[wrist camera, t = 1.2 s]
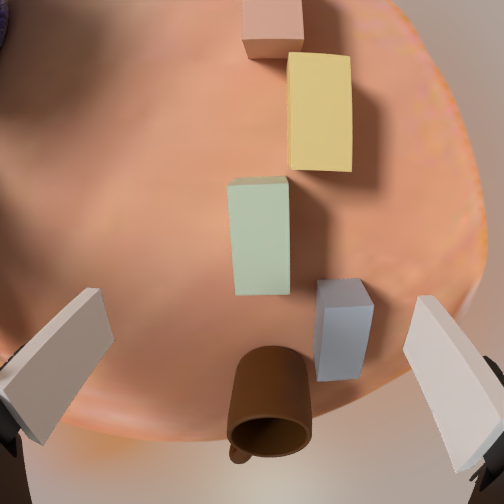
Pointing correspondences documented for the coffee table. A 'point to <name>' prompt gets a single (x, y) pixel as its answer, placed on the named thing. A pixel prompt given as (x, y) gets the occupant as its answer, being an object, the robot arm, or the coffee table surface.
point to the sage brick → (260, 234)
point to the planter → (3, 19)
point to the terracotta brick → (272, 28)
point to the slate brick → (341, 328)
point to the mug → (269, 405)
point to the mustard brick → (319, 112)
